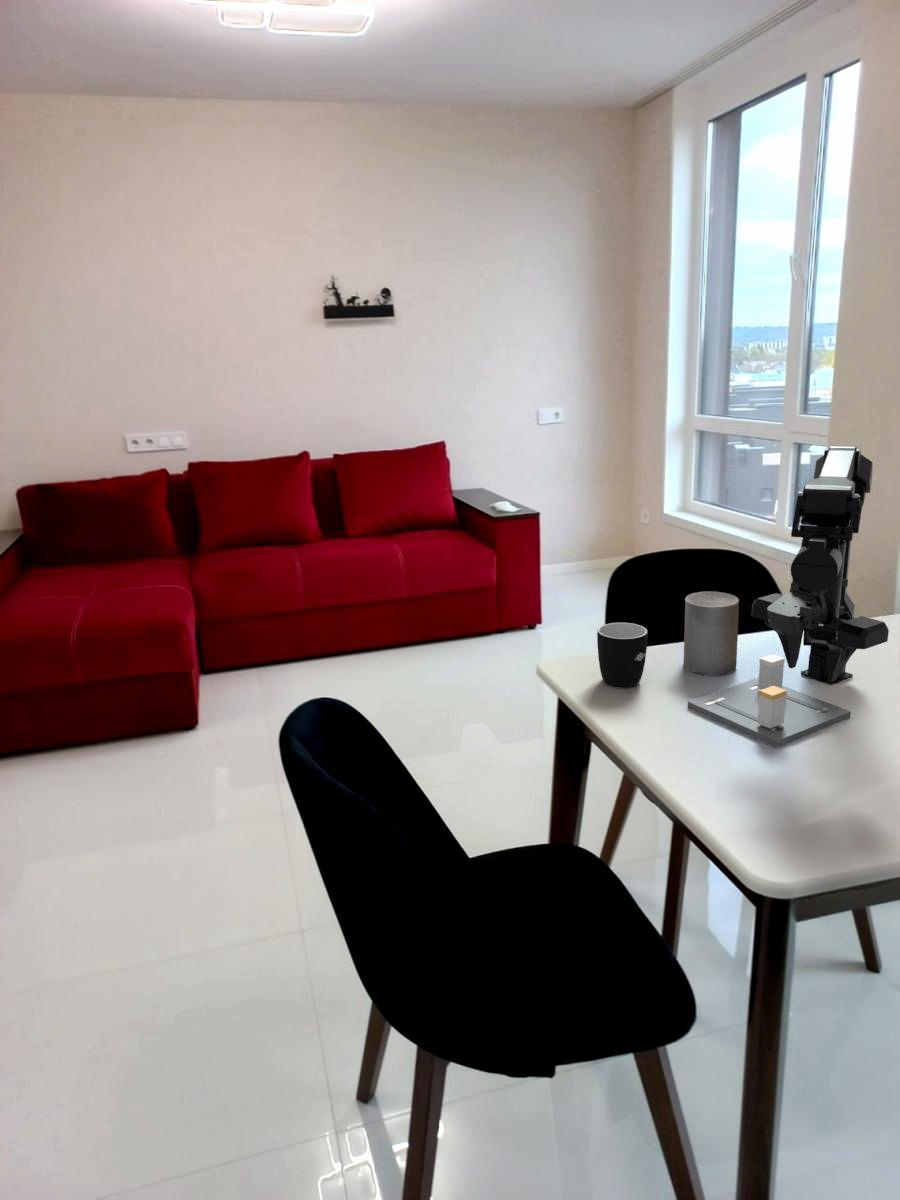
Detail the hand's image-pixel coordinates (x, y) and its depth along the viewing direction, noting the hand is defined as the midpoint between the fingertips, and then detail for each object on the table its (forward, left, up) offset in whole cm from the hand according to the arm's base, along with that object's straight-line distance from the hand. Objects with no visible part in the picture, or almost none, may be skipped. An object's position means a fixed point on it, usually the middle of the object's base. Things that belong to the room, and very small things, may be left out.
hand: (811, 674), depth 120 cm
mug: (+3, -36, -12) cm, 39 cm away
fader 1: (-11, -15, -10) cm, 22 cm away
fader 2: (0, -6, -10) cm, 12 cm away
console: (-6, -11, -12) cm, 17 cm away
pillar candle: (-14, -31, -12) cm, 36 cm away
